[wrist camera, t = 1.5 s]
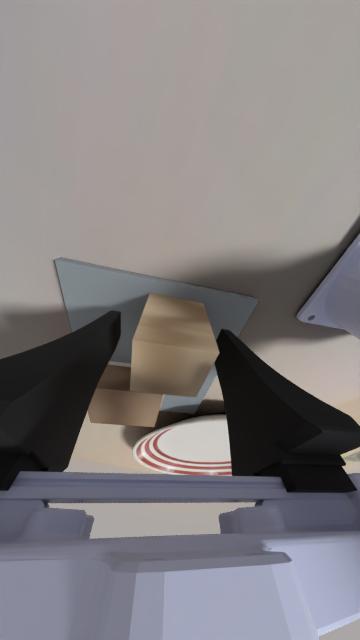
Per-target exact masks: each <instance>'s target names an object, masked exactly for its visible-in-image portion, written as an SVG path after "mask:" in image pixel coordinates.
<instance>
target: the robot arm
mask: <svg viewBox="0 0 360 640" xmlns="http://www.w3.org/2000/svg"><path fill="white" fill-rule="evenodd" d="M297 319H298V320H299V321H301V322H306V323H312V324H317V325H322V326H327V327H332V328H338V329H343V330H346V331H348V332H349V333H351V334H352V335H354V336H355V337H357V338H358V339H360V234H359V235H358V236H357V238H356V239H355V240H354V241H353V243H352V244H351V245H350V247H349V248H348V249H347V250H346V252H345V253H344V254H343V256H342V257H341V258H340V260H339V261H338V262H337V263H336V265H335V266H334V267H333V269H332V270H331V271H330V272H329V274H328V275H327V276H326V278H325V279H324V280H323V282H322V283H321V284H320V285H319V287H318V288H317V289H316V291H315V292H314V293H313V294H312V296H311V297H310V298H309V300H308V301H307V302H306V304H305V305H304V306H303V307H302V309H301V310H300V311H299V313H298V314H297ZM120 336H121V312H119V311H113V310H111V311H109V312H107V313H106V314H104V315H103V316H101V317H99V318H98V319H96V320H94V321H92V322H91V323H89V324H87V325H85V326H83V327H82V328H80V329H78V330H76V331H74V332H72V333H70V334H68V335H66V336H64V337H61V338H59V339H57V340H54V341H52V342H50V343H47V344H44V345H42V346H39V347H36V348H33V349H31V350H28V351H25V352H22V353H19V354H16V355H13V356H10V357H7V358H3V359H0V640H320V639H319V636H320V635H323V634H325V633H327V632H329V631H332V630H334V629H337V628H339V627H341V626H343V625H346V624H348V623H350V622H353V621H355V620H357V619H360V473H352V474H347V473H346V472H345V470H344V469H343V468H342V466H345V465H346V463H345V461H344V460H343V459H342V457H341V456H340V455H341V454H343V453H346V452H348V451H351V450H353V449H356V448H358V447H360V426H359V425H358V424H357V423H356V421H355V420H354V419H353V418H351V417H350V416H349V415H347V414H345V413H343V412H341V411H340V410H338V409H336V408H334V407H332V406H330V405H328V404H327V403H325V402H323V401H321V400H319V399H318V398H316V397H314V396H313V395H311V394H309V393H308V392H306V391H304V390H303V389H301V388H300V387H298V386H296V385H295V384H293V383H292V382H290V381H289V380H288V379H286V378H285V377H283V376H282V375H280V374H279V373H278V372H276V371H275V370H274V369H272V368H271V367H270V366H269V365H267V364H266V363H265V362H264V361H263V360H261V359H260V358H259V357H258V356H257V355H256V354H255V353H253V352H252V351H251V350H250V349H249V348H248V347H247V346H246V345H245V344H244V343H243V342H242V341H241V340H240V339H239V338H238V337H237V336H236V335H234V334H233V333H232V332H231V331H230V330H226V329H221V331H220V333H219V335H218V337H217V339H216V343H217V346H218V350H219V355H218V357H217V358H216V360H215V362H214V364H215V367H216V371H217V375H218V378H219V382H220V386H221V389H222V394H223V399H224V405H225V411H226V418H227V425H228V435H229V444H230V456H231V470H232V476H213V475H169V474H124V473H123V474H121V473H79V472H78V473H77V472H63V471H64V470H65V469H66V468H67V467H68V465H69V461H70V458H71V455H72V453H73V450H74V447H75V444H76V441H77V438H78V435H79V432H80V429H81V427H82V424H83V421H84V418H85V416H86V413H87V410H88V408H89V405H90V402H91V400H92V397H93V395H94V392H95V390H96V387H97V385H98V382H99V380H100V378H101V376H102V374H103V372H104V370H105V368H106V367H107V365H108V363H109V361H110V359H111V357H112V355H113V353H114V351H115V349H116V347H117V345H118V342H119V339H120ZM183 502H184V503H188V502H189V503H190V502H191V503H193V502H195V503H196V502H197V503H201V502H256V504H255V507H245V508H238V509H236V510H234V511H231V512H227V513H222V514H220V515H219V523H220V529H221V533H220V534H203V535H175V536H147V537H124V538H123V537H122V538H98V539H89V537H90V532H91V529H92V525H93V521H94V517H93V516H90V515H86V512H85V510H74V509H73V510H72V509H58V508H49V505H48V503H183Z"/></svg>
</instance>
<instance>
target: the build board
mask: <svg viewBox="0 0 360 640" xmlns="http://www.w3.org/2000/svg"><path fill="white" fill-rule="evenodd" d="M55 264H56V268H57V272H58V276H59V280H60V285H61V289H62V293H63V297H64V301H65V306H66V310H67V314H68V318H69V323H70V327H71V331H72V332H74V331H76V330H78V329H80V328H82V327H83V326H85V325H87V324H89V323H91V322H92V321H94V320H96V319H98V318H99V317H101V316H103V315H104V314H106V313H107V312H109V311H111V310H113V311H119V312H121V336H120V339H119V342H118V345H117V347H116V349H115V351H114V353H113V355H112V357H111V359H110V361H109V363H108V365H117V366H125V367H131V360H132V342H133V337H134V335H135V332H136V329H137V327H138V324H139V321H140V318H141V316H142V313H143V310H144V308H145V305H146V302H147V299H148V297H149V294H150V293H153V294H159V295H164V296H169V297H174V298H180V299H185V300H190V301H195V302H200V303H204V306H205V309H206V312H207V315H208V318H209V322H210V325H211V328H212V331H213V334H214V337H215V340H216V339H217V337H218V335H219V333H220V331H221V329H226V330H230V331H231V332H232V333H233V334H234V335H236V336H237V337H239V335H240V333H241V331H242V330H243V328H244V326H245V324H246V323H247V321H248V319H249V317H250V316H251V314H252V312H253V310H254V309H255V307H256V305H257V303H258V302H259V301H258V300H257V299H256V298H254V297H249V296H245V295H240V294H235V293H230V292H225V291H220V290H216V289H211V288H206V287H201V286H196V285H191V284H186V283H182V282H177V281H172V280H167V279H162V278H157V277H153V276H148V275H143V274H138V273H133V272H128V271H124V270H119V269H114V268H109V267H104V266H99V265H95V264H90V263H85V262H80V261H75V260H70V259H66V258H58V259H55ZM216 375H217V371H216V367H215V364H213V366H212V368H211V370H210V372H209V374H208V376H207V378H206V380H205V382H204V384H203V385H202V387H201V389H200V391H199V393H198V395H197V397H196V398H195V397H185V396H175V395H165V394H164V396H163V399H162V402H161V406H160V409H159V411H167V412H179V413H191V414H195V412H196V410H197V408H198V407H199V405H200V403H201V401H202V400H203V398H204V396H205V394H206V393H207V391H208V389H209V387H210V386H211V384H212V382H213V380H214V379H215V377H216Z"/></svg>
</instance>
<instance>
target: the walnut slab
mask: <svg viewBox="0 0 360 640" xmlns="http://www.w3.org/2000/svg"><path fill="white" fill-rule="evenodd" d="M130 378H131V367H125V366H117V365H107V367H106V368H105V370H104V372H103V374H102V376H101V378H100V380H99V382H98V385H97V387H96V390H95V392H94V395H93V397H92V400H91V402H90V405H89V408H88V414H89V418H90V422H91V423H102V424H116V425H131V426H145V427H155V423H156V420H157V416H158V413H159V409H160V406H161V402H162V399H163V396H164V394H155V393H145V392H136V391H130Z"/></svg>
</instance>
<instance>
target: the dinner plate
mask: <svg viewBox="0 0 360 640" xmlns="http://www.w3.org/2000/svg"><path fill="white" fill-rule="evenodd" d="M132 453H133V456H134V458H135V459H136V460H137V461H138V462H139V463H140V464H142V465H143V466H145V467H147V468H150V469H152V470H155V471H158V472H162V473H167V474H172V475H213V476H232V470H231V456H230V444H229V435H228V425H227V418H226V415H225V414H219V415H205V416H198V417H194V418H189V419H186V420H183V421H180V422H177V423H174V424H171V425H168V426H165V427H163V428H161V429H158V430H155V431H153V432H151V433H149V434H147V435H145V436H143V437H142V438H141V439H139V440H138V441H137V442H136V443H135V445H134V447H133V451H132Z"/></svg>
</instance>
